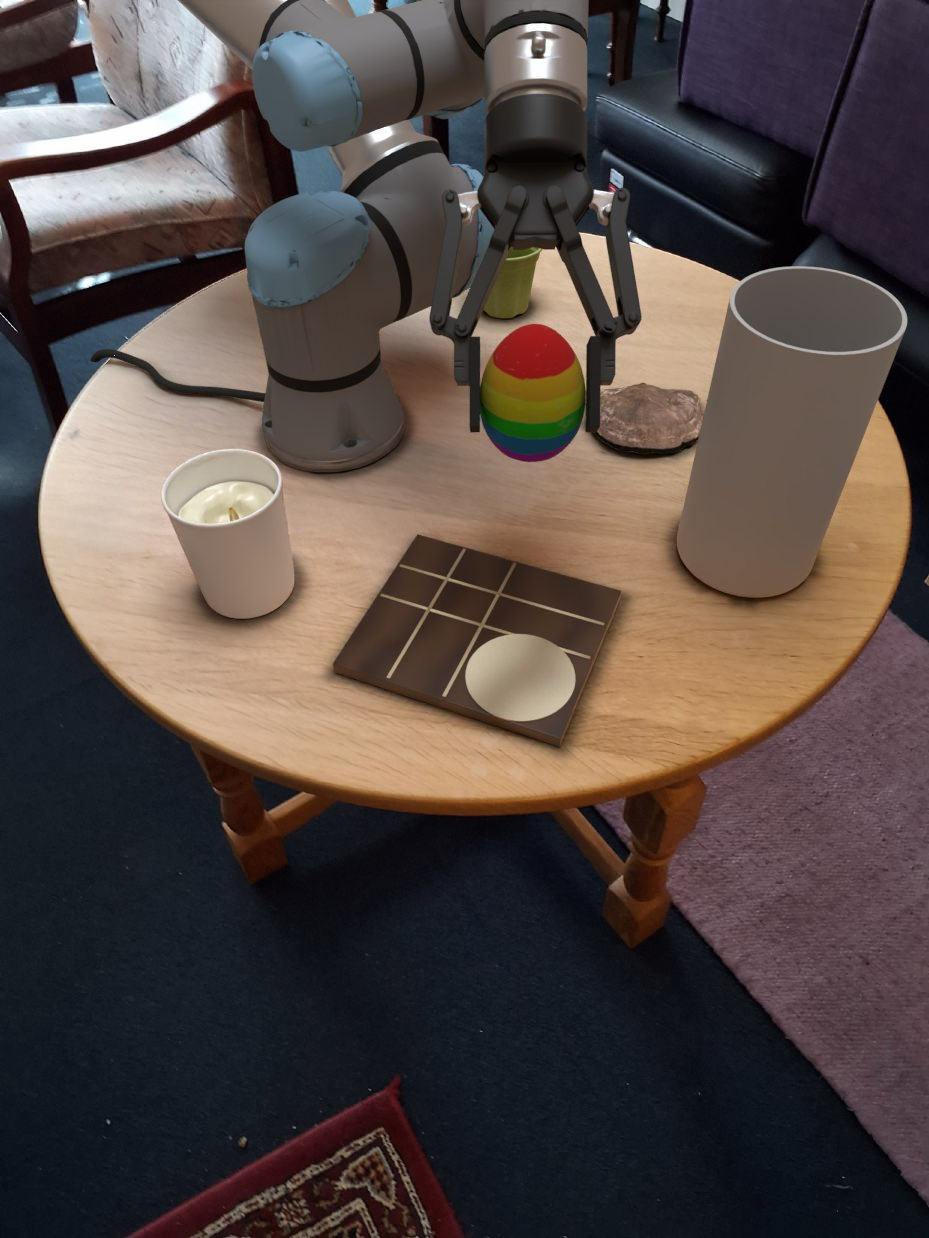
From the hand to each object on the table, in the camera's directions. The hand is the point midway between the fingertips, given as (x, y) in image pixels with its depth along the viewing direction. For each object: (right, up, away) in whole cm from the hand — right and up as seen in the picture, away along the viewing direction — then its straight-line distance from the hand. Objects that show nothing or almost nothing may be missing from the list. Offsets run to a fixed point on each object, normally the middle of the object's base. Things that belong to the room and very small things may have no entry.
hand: (533, 429), depth 67 cm
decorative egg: (0, 0, +5) cm, 5 cm away
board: (-4, -15, +11) cm, 20 cm away
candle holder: (-25, -11, +16) cm, 32 cm away
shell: (+14, +7, +31) cm, 35 cm away
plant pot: (0, +26, +48) cm, 55 cm away
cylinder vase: (+21, -8, +18) cm, 29 cm away
